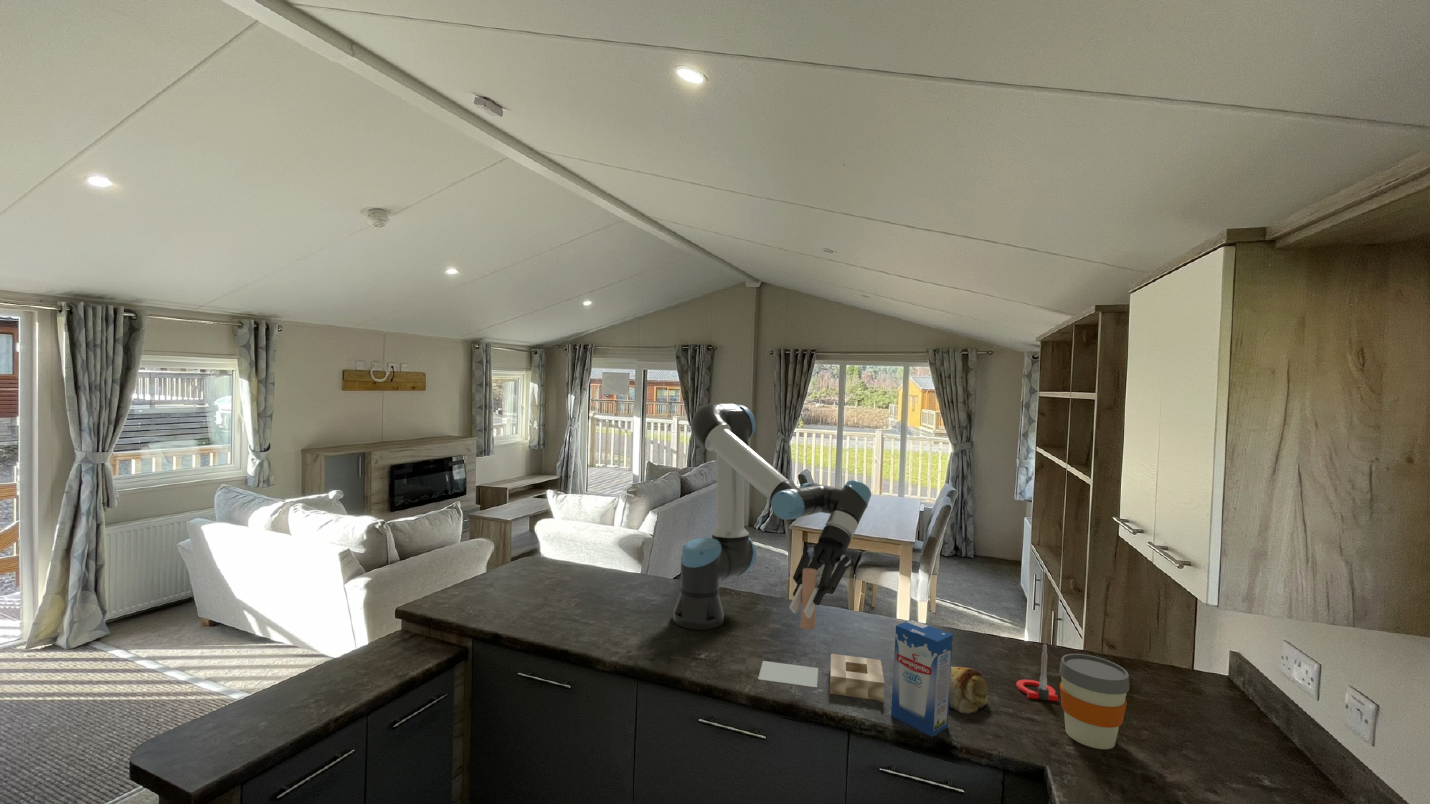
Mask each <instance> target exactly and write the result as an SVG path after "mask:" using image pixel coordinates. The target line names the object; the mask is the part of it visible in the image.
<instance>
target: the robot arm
mask: <svg viewBox="0 0 1430 804" xmlns="http://www.w3.org/2000/svg"><path fill="white" fill-rule="evenodd" d="M756 426H757V425H756V420H755V417H754V414H753V413H752V411H750V409H749V407H747V406H745V405H743V404H737V403H708V404H704V405H702V406H700V407H698V408H697V410H696V411H695V412H694V414H693V416H692V420H691V431H692V433H693V435H694V437H695V438H696V440H697V441H698V442H699V444H700V445H701V446H703V447H704V448H705V449H706V450H707V451H709V452H714V453H716V528H715V529H714V530H713V532H711V533H712V534H711V535H712V536H711V538H709V537H702V538H695V539H692V540H688V541H687V542H686V543H685V544H684V545H683V547H682V549H681V557H680V581H679V582H680V586H679V587H680V588H679V589H680V590H679V595H678V598H677V600H676V603H675V607H674V608H673V612H672V613H673V614H672V615H673V616H672V620H673V622H674V624H675V625H677V626H679V627H682V628H684V629H689V630H695V631H696V630H697V631H698V630H700V631H702V630H705V631H706V630H712V629H716V628H718V627H720V626H721V625H723V624H724V618H725V615H724V614H725V613H724V608H723V606H722V602H721V599H720V582H721V581H723V580H727V579H730V578H732V577H738V576H741V575H743V574H745V573H747V572H749V571H750V570H751V569H752V568H753V567H754V564H755V563H756V559H757V547H756V545H755V543H753V540H752V539H751V537H750V532H749V531H748V530H747V529H746V528H745V491H744V490H745V485H744V484H745V482H744V480H745V481H747V482H748V483H750V484H751V486H753V487H754V488H755V489H756V490H757V491H758V492H759V493H761V495H763V496H764V497H765V498H766V499H767V500H768V501H770V502H771V504H770V505H771V506H770V507H771V509H772V511H773V514H774V515H775V516H776V517H777V518H778V519H781V520H786V521H787V520H795V519H798V518H802V517H805V516H810V515H814V514H820V513H823V514H829V517H828V518H827V521H826V522H825V524H824V525H825V526H824V527H823V529H822V531H821V533H820V534H819V536H818V541H817V543H815V544H814V545H813V547H809V546H806V545H805V546H803V549H802V555H801V557H800V560H799V562H798V565H797V567H796V569H795V572H794V574H793V576H792V579H793V580H794V582H795V584H796V586H795V589H794V590H793V593H792V596H793V599H792V601H791V603H790V605H789V606H788V607H789V608H790V611H791V612H792V613H793V614H797V612H798V610H799V608H800V607H801V603H802V578H803V569H804V568H813V569H816V570H817V571H818V570H819V569H821V567H823V570H822V573H821V576H820V580H819V583H818V584H816V588H814V590H813V592H812V594H811V596H810V599H809V601H808V603H807V605H806V607H805V609H804V611H803V612H804V613H805V615H806V616H807V617H808V618H810V617H811V615H812V613H813V611H814V609H815V610H816V607H817V606H820V604H821V602H822V600H823V598H824V596H825V595H826V594H830V595H833V594H834V593H835V591H836V589H837V588H838V585H839V584H840V583H841V581H842V579H843V577H844V575H845V573H846V571H847V569H849V568H850V567H851V566H852V564H853V563H852V561H851V558H850V557H849V556H848V555H846V551H847V550H848V549H849V545H850V544H851V541H852V539H853V536H854V535H855V533H856V530H857V528H858V526H859V525H860V521H861V520H862V517H863V516H864V514H865V511H866V509H867V508H868V504H869V503H870V500H871V497H872V492H871V490H870V488H869V486H867V484H865V483H864V482H862V481H859V480H856V479H851V480H848V481H846V483H845V484H844V485H843V487H840V486H830V485H825V484H819V483H815V482H814V483H813V482H812V483H811V482H805V483H803V484H801V486H799V487H797V486H796V485H795V484H794V483H792V482H791V481H790V480H789V479H787V478H786V477H785V476H784V475H783V474H782V473H780V471H778V470H777V469H776V468H775V467H774V466H772V464H770V463H769V462H767V460H765V459H764V458H763V457H762V456H760V455H759V453H757V452H756V451H755V450H753V449H752V448H751V447H750V446H749V440H750V439H751V438H752V437H753V434H755V431H756ZM813 554H814V555H813ZM836 564H837V565H836Z"/></svg>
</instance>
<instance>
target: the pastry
mask: <svg viewBox="0 0 1430 804" xmlns="http://www.w3.org/2000/svg"><path fill="white" fill-rule="evenodd" d="M988 691H989V689H988V684H987V682H986V680H985V679H984V678H983V675H982V673H981V672H980V671H979V670H978V669H975V668H971V667H970V668H969V667H964V666H951V679H950V696H949V708H950V709H952V710H954V711H956V712H959V713H962V714H967V715H969V714H972V713H973V714H974V713H977V712H978V710H981V709H982V708H983V707H984V706H985V705H987V704H988V702H989V696H988Z"/></svg>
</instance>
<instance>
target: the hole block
mask: <svg viewBox="0 0 1430 804" xmlns="http://www.w3.org/2000/svg"><path fill="white" fill-rule="evenodd" d="M882 666H883V665H882V661H881V659H878V658H877V659H875V658H867V657H861V656H852V655H844V654H837V653H830V665H829V667H830V671H829V674H830V675H829V694H831V695H838V696H845V697H851V698H860V699H865V700H873V701H878V702H879V703H884V698H885V678H884V674H883V667H882Z"/></svg>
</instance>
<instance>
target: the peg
mask: <svg viewBox="0 0 1430 804" xmlns="http://www.w3.org/2000/svg"><path fill="white" fill-rule="evenodd" d="M817 576H818V570H816V569H813V568H804V569H803V578H802V602H801V604H800V609H801V610H800V628H801V629H804V630H810V631H811V630H815V625H816V608H815V609H814V611H813V613H812V615H811V617H810V618H808V617H807V616H806V615H805V613H804V612H803V611H804V609H805V607H806V605H807V603H808V601H809V599H810V596H811V594H812V592H813V590H814V588H817V580H818V579H817V578H818V577H817Z"/></svg>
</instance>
